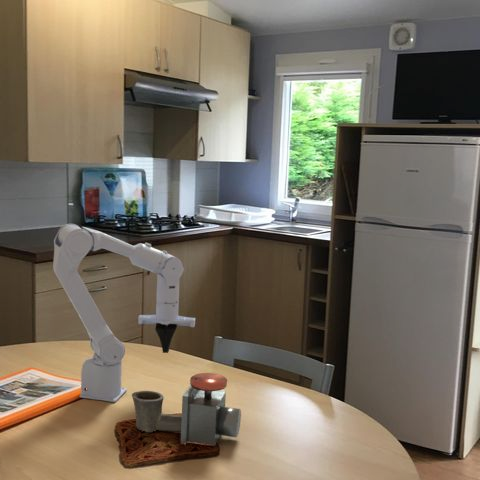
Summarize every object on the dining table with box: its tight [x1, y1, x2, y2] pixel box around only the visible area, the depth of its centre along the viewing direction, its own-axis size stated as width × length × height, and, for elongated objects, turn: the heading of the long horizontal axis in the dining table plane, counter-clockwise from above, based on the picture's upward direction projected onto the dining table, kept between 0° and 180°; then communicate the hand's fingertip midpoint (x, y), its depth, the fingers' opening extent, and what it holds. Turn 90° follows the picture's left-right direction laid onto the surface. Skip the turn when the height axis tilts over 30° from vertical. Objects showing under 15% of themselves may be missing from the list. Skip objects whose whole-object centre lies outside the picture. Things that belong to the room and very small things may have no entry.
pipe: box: [131, 390, 182, 433], centre depth 138 cm, size 6×13×8 cm, turn 79°
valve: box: [180, 372, 242, 445], centre depth 136 cm, size 12×11×13 cm
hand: (165, 351), depth 162 cm, fingers closed
